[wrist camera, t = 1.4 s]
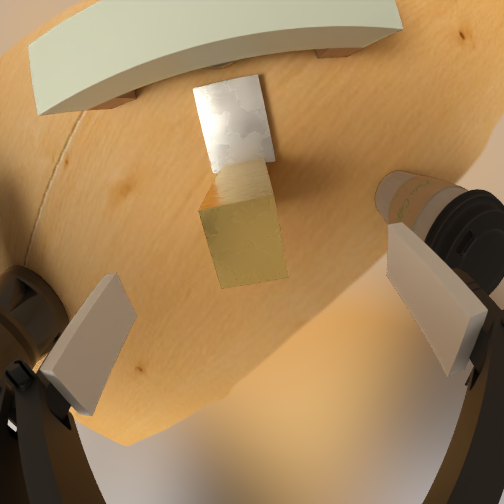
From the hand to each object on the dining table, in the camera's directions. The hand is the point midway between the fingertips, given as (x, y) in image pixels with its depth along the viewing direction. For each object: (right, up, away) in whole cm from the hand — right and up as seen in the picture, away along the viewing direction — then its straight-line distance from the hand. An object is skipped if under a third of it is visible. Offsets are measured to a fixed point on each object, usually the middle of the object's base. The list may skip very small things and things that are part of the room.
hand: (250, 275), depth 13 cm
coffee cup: (+16, +7, +16) cm, 24 cm away
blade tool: (-1, +11, +13) cm, 18 cm away
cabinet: (-3, +20, +9) cm, 22 cm away
